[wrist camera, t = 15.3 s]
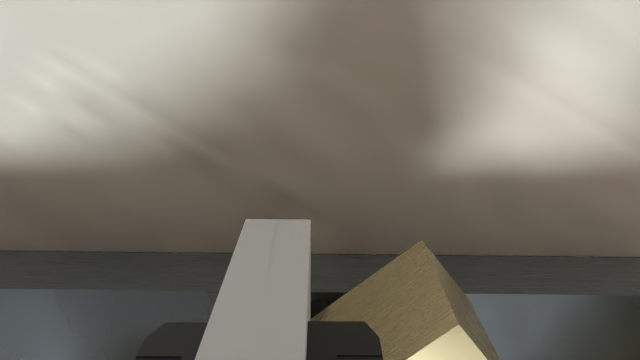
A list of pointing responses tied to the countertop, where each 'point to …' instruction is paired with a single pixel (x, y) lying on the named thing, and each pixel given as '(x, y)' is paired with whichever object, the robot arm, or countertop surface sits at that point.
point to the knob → (415, 311)
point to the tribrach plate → (326, 287)
